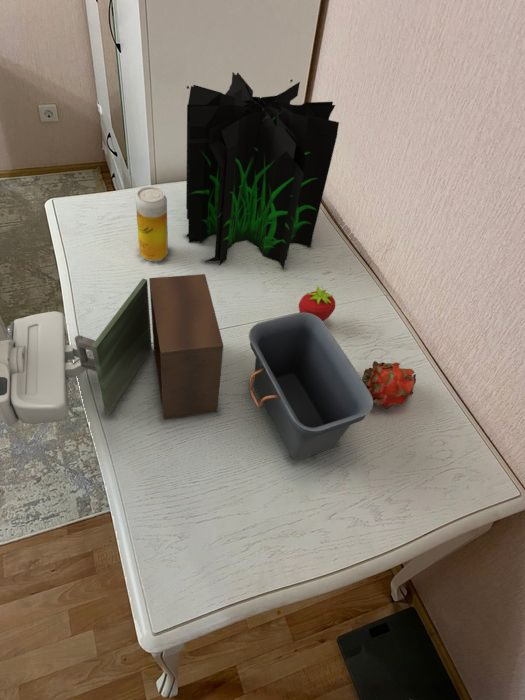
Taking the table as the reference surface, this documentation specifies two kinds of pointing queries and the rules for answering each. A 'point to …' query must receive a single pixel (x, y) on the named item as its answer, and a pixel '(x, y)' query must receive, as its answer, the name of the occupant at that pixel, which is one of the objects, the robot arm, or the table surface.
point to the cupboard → (185, 345)
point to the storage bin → (306, 383)
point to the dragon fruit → (389, 383)
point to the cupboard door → (120, 347)
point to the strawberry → (317, 304)
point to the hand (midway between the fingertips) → (96, 358)
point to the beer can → (152, 223)
